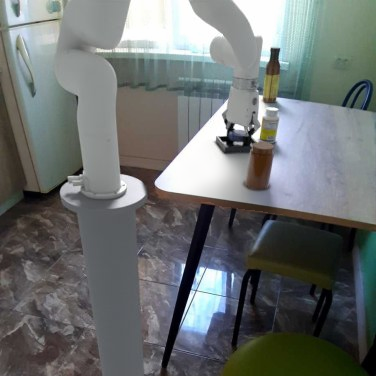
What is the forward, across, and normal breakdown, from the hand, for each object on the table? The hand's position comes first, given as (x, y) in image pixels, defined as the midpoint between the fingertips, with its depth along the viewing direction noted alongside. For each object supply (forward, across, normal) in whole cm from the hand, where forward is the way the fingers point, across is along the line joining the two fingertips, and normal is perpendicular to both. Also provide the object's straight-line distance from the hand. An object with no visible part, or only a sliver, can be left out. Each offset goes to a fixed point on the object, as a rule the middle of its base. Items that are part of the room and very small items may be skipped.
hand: (237, 144), depth 137 cm
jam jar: (+1, -25, +19) cm, 31 cm away
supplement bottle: (+1, -2, -12) cm, 13 cm away
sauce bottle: (+1, +32, -56) cm, 64 cm away
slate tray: (+1, 0, 0) cm, 1 cm away
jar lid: (-3, 0, 0) cm, 3 cm away
